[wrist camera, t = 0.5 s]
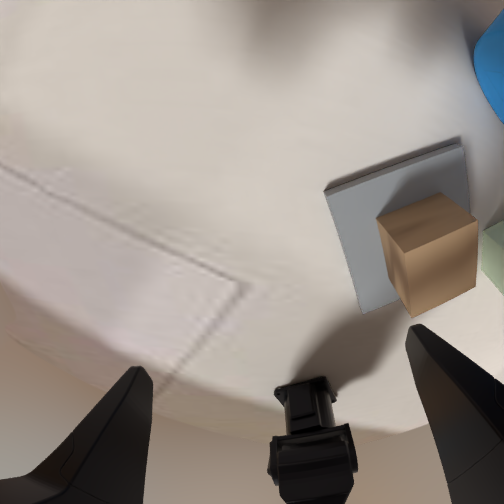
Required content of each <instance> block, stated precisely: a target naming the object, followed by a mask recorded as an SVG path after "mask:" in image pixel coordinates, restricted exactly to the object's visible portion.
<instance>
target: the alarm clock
mask: <svg viewBox="0 0 504 504" xmlns="http://www.w3.org/2000/svg"><path fill="white" fill-rule="evenodd" d="M474 68H475V72H476V76H477V79H478V81H479V84H480V86H481V89H482V91H483V93H484V95H485V96H486V98H487V100H488V102H489V103H490V105H491V107H492V108H493V110H494V111H495V113H496V114H497V116H498V117H499V119H500V120H501V121H502V123H503V124H504V9H503V10H502V11H501V13H500V14H499V15H498V16H497V18H496V19H495V20H494V22H493V23H492V24H491V25H490V27H489V28H488V29H487V30H486V31H485V33H484V34H483V35H482V36H481V38H480V39H479V40H478V42H477V44H476V46H475V49H474Z"/></svg>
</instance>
